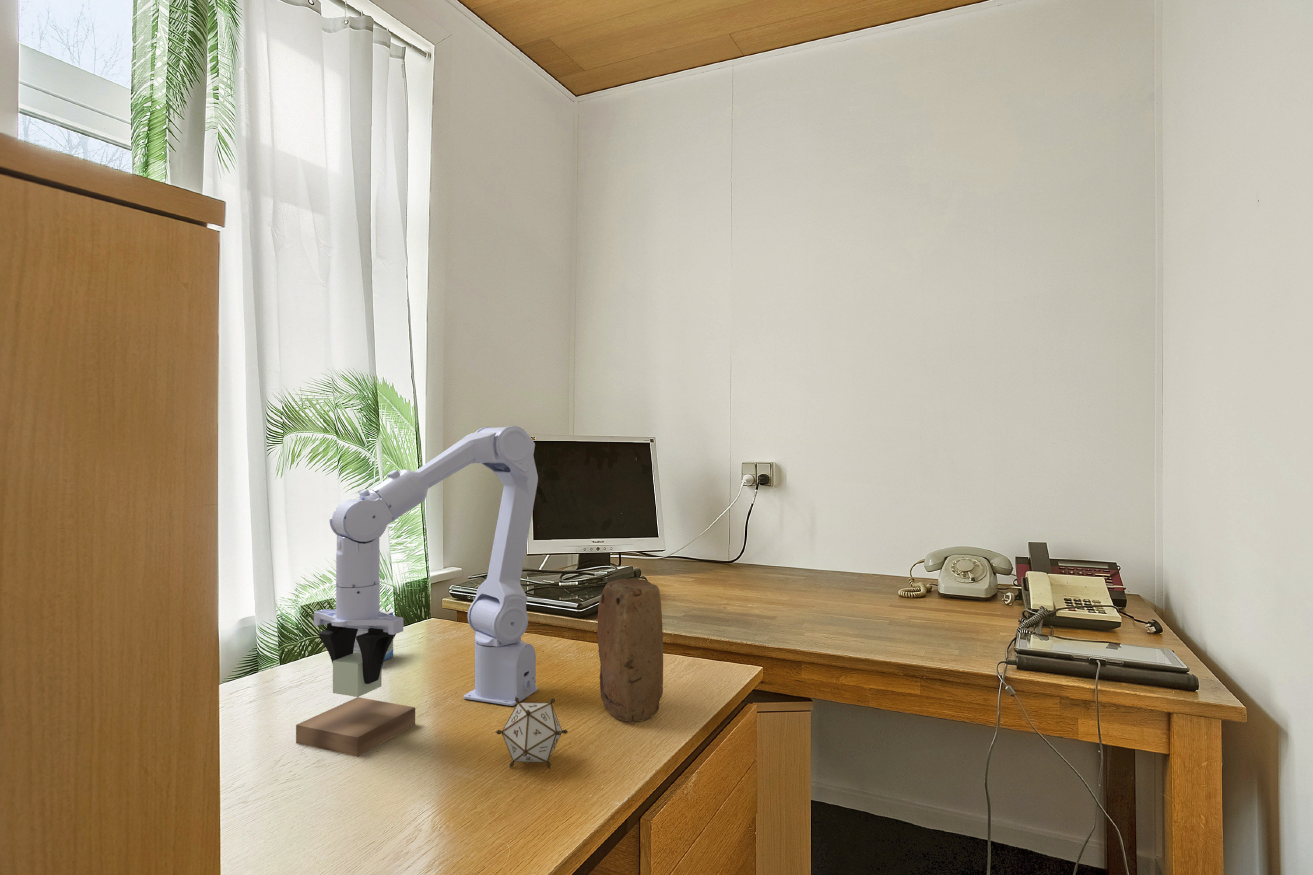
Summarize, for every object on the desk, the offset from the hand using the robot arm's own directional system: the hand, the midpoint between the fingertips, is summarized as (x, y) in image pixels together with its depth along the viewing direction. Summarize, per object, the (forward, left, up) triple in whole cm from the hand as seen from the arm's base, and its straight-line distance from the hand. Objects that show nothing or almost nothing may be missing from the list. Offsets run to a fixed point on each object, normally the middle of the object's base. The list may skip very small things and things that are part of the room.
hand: (357, 679), depth 97 cm
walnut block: (0, 0, -8) cm, 8 cm away
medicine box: (+22, -26, -8) cm, 35 cm away
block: (-33, -21, -8) cm, 40 cm away
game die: (-28, -1, -8) cm, 29 cm away
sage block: (0, 0, -1) cm, 1 cm away
